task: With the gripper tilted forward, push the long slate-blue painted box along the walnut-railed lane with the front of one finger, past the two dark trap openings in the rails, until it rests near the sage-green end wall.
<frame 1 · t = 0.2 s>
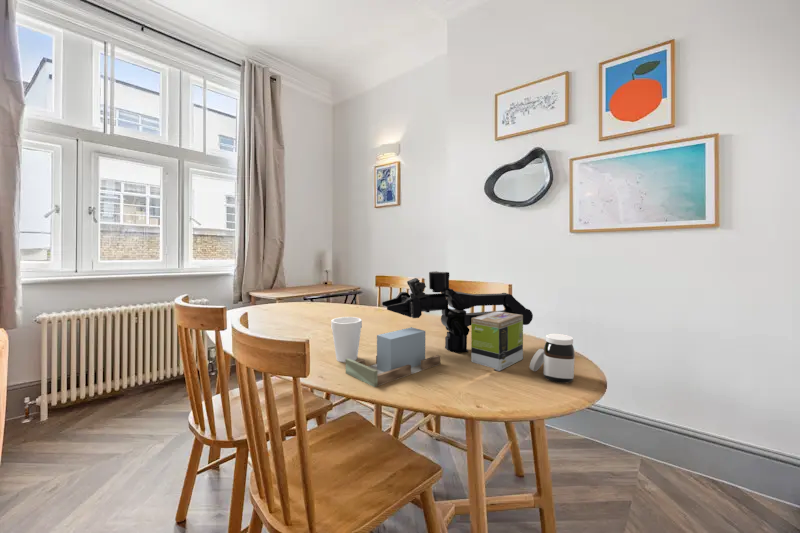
hand: (384, 305, 117), 16 cm above the table, tool horizontal, fingers open, 9 cm apart
tea box: (497, 362, 111), on the table
spread jar: (550, 376, 100), on the table
foam cup: (346, 361, 112), on the table
slate box: (401, 366, 106), point 1 cm above the table, touching lane
lane: (395, 370, 104), on the table
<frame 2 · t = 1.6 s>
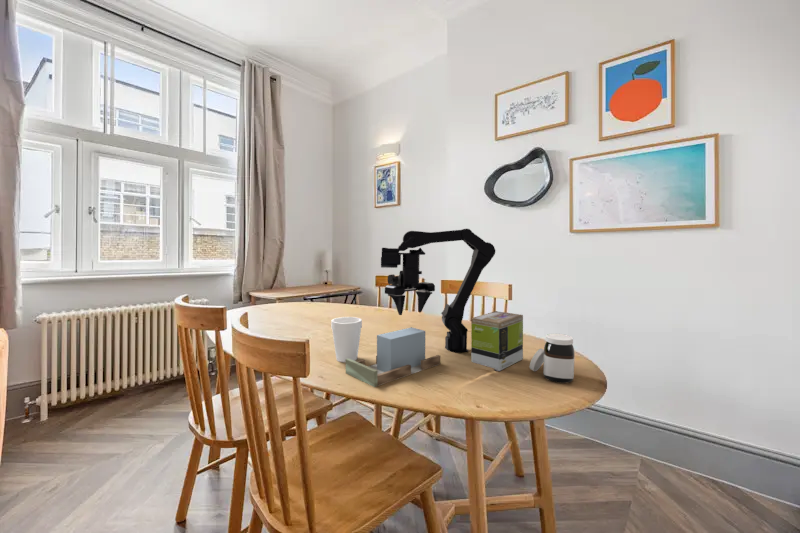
hand: (410, 313, 122), 13 cm above the table, tool pointing down, fingers open, 9 cm apart
nothing on the table moved.
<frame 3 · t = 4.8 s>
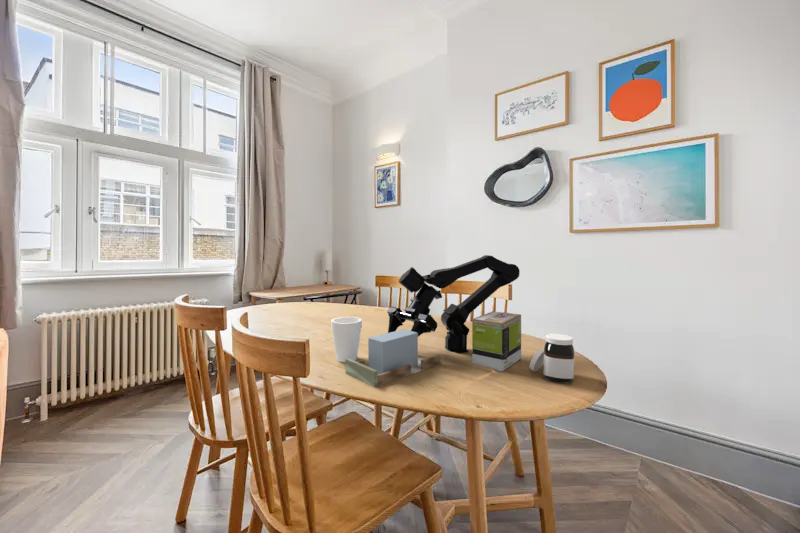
hand: (397, 340, 112), 6 cm above the table, tool tilted 45°, fingers open, 9 cm apart
slate box: (393, 369, 103), point 1 cm above the table, touching gripper, lane
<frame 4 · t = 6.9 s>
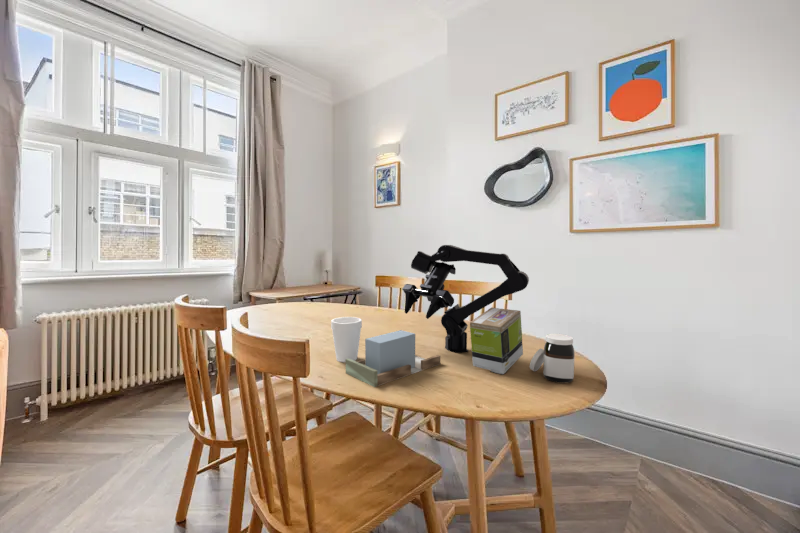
hand: (415, 315, 116), 13 cm above the table, tool tilted 40°, fingers open, 9 cm apart
tea box: (498, 361, 109), point 1 cm above the table, touching arm
slate box: (391, 370, 102), point 1 cm above the table, touching lane
everything else where it was.
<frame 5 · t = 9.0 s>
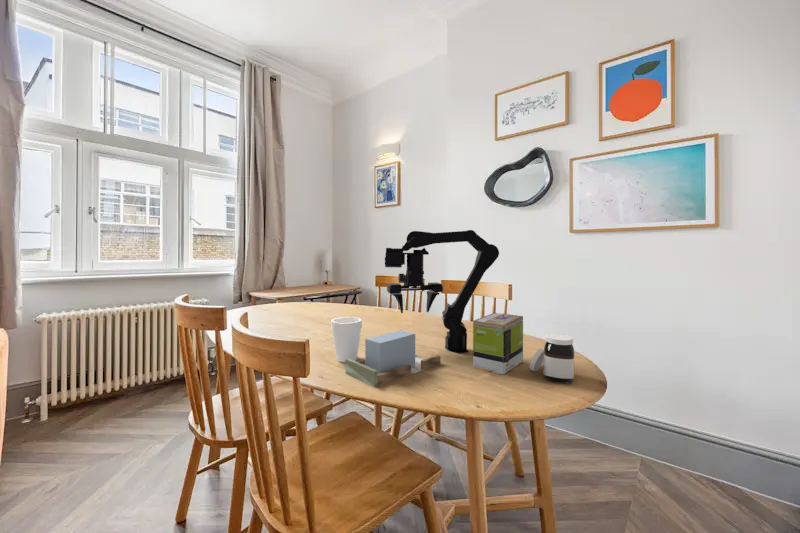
hand: (414, 312, 123), 13 cm above the table, tool pointing down, fingers open, 9 cm apart
tea box: (498, 365, 109), on the table
everything else where it was.
at the end: slate box 1.8 cm from the target spot, point 0.6 cm above the table; slate box moved 4.8 cm from its start; slate box tilted 0° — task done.
